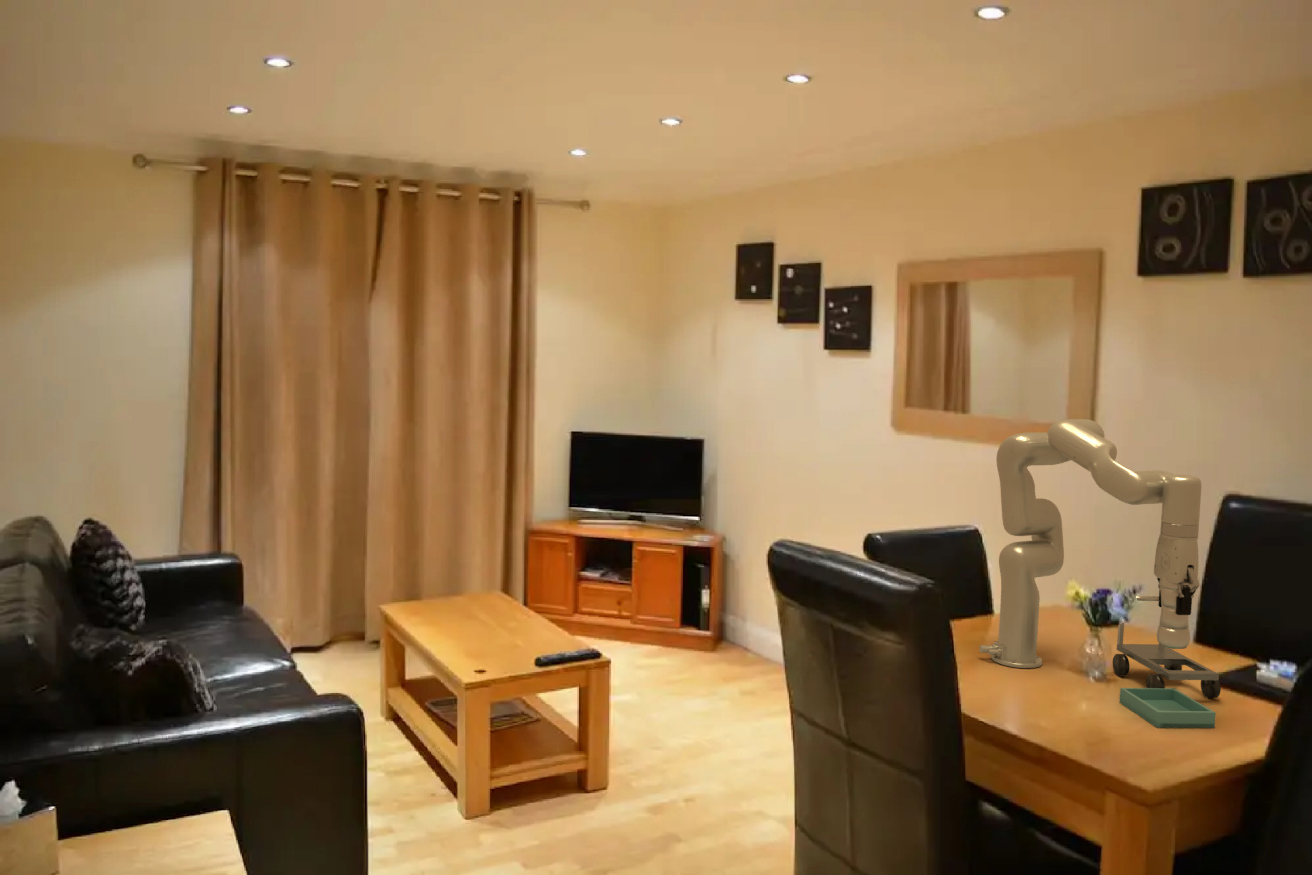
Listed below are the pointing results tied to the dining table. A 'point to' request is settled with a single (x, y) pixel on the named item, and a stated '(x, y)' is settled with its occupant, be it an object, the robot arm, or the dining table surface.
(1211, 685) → the trolley
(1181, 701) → the tray
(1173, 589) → the plastic bottle
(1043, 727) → the dining table surface
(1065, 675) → the dining table surface
